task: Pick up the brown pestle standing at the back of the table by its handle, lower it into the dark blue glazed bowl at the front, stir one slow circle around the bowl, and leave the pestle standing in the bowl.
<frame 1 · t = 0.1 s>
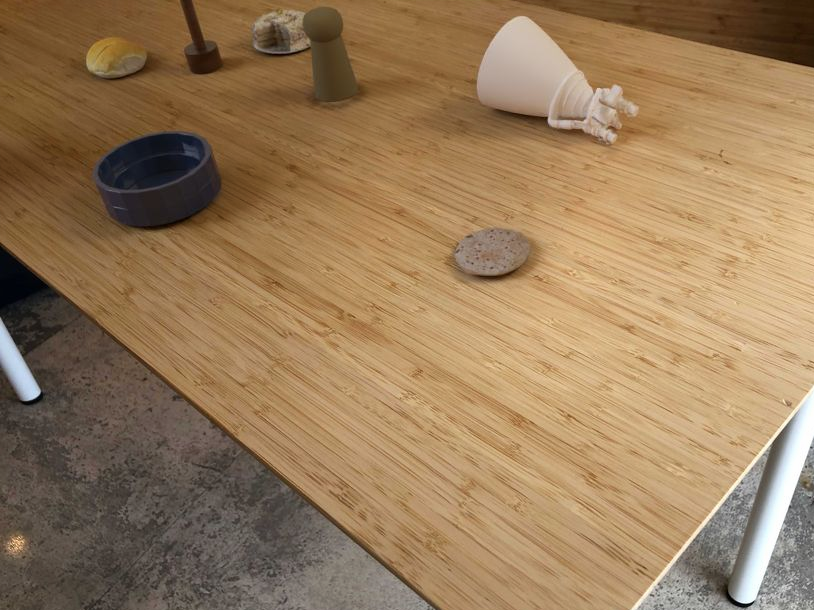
brown pestle: (206, 66, 125), on the table
olive game pawn: (336, 92, 116), on the table
bread roll: (120, 68, 128), on the table
bowl: (166, 197, 100), on the table
flatbread: (492, 257, 86), on the table
cake: (286, 43, 129), on the table
rocket engine: (551, 125, 105), on the table
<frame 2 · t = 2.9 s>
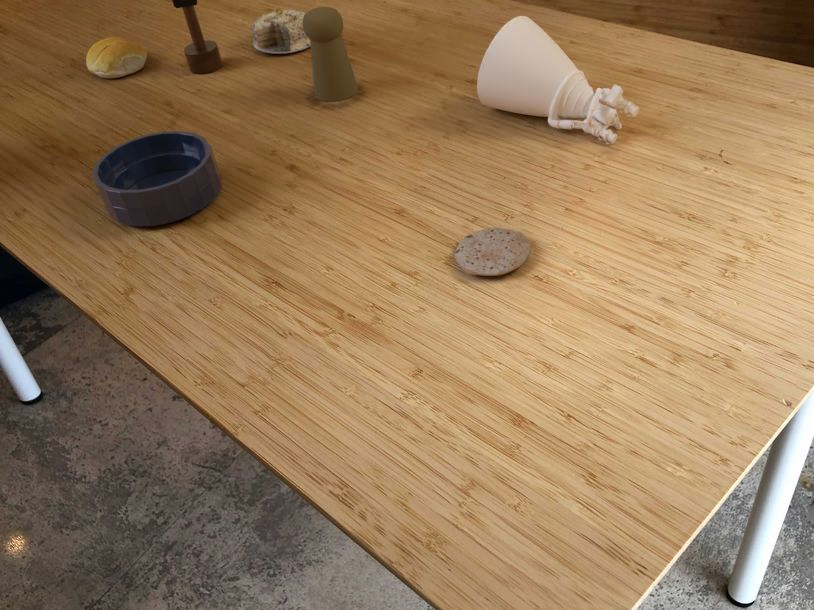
hand: (186, 1, 119), 10 cm above the table, tool pointing down, fingers closed on brown pestle
brown pestle: (206, 66, 125), on the table, touching gripper
everything else where it was.
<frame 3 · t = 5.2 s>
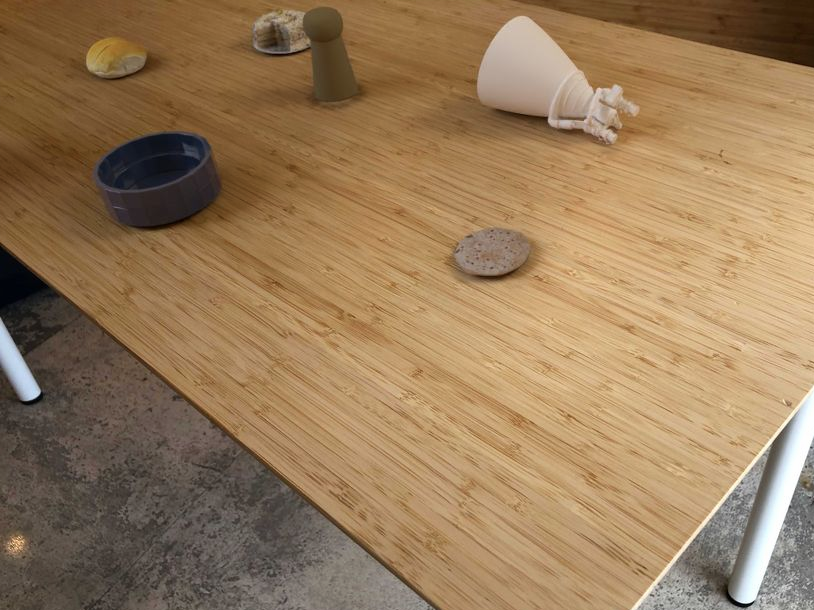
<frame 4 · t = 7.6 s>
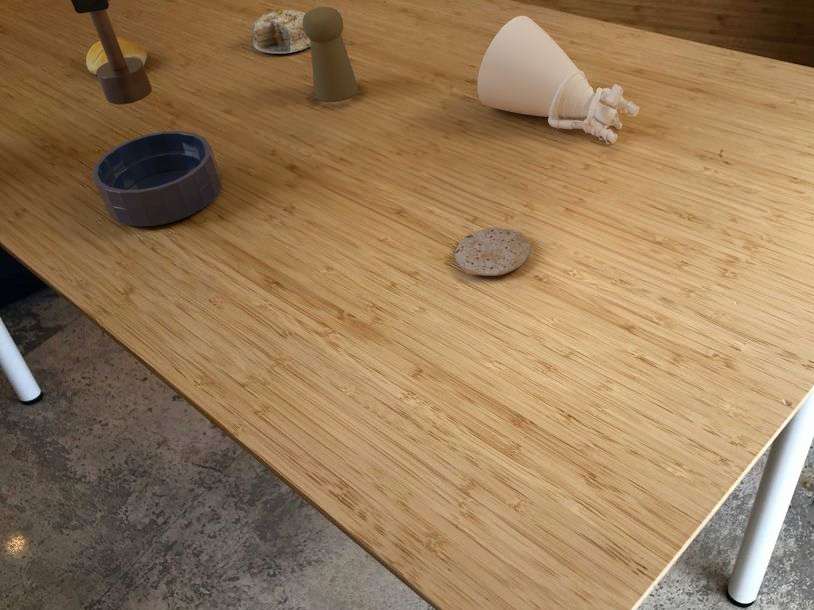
hand: (94, 4, 84), 23 cm above the table, tool pointing down, fingers closed on brown pestle
brown pestle: (129, 94, 91), point 13 cm above the table, touching gripper
everything else where it was.
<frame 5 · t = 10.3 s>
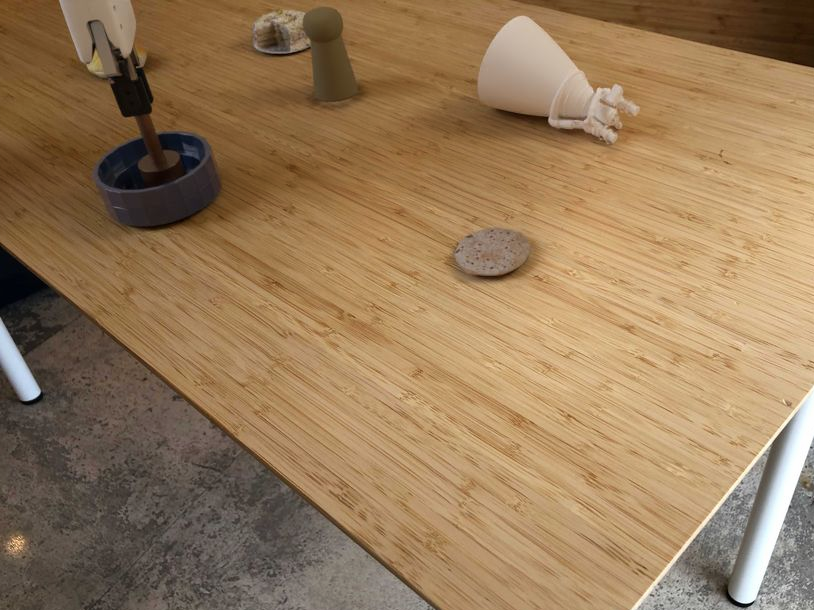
hand: (138, 108, 93), 11 cm above the table, tool pointing down, fingers closed on brown pestle
brown pestle: (167, 182, 100), point 1 cm above the table, touching gripper
everything else where it was.
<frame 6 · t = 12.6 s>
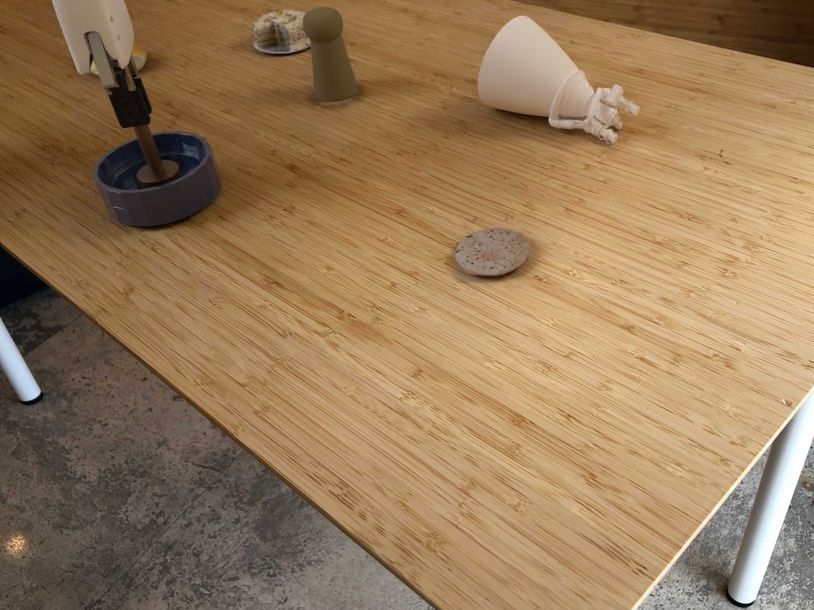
hand: (137, 119, 93), 10 cm above the table, tool pointing down, fingers closed on brown pestle
brown pestle: (166, 193, 99), point 1 cm above the table, touching bowl, gripper
everything else where it was.
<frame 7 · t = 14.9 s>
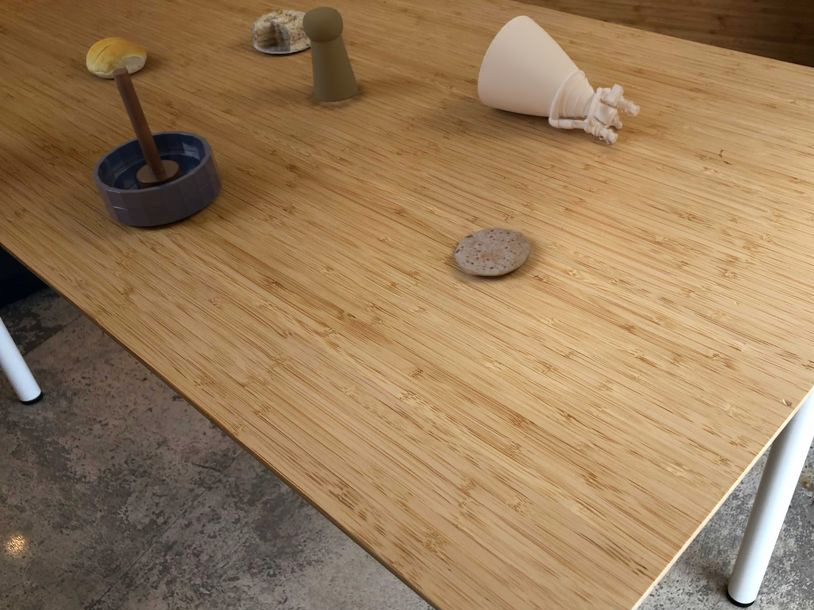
brown pestle: (166, 193, 99), point 1 cm above the table, touching bowl
everything else where it was.
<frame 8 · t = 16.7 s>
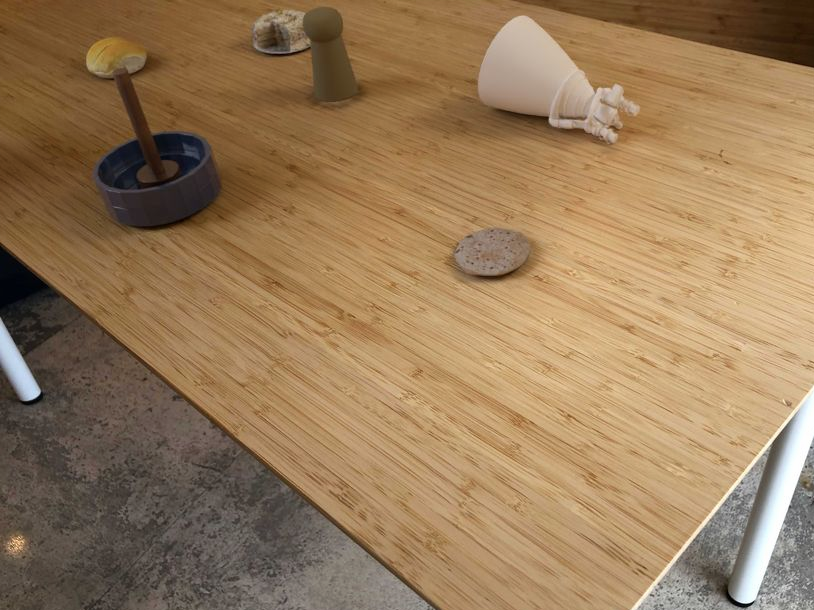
nothing on the table moved.
at the end: brown pestle 0.1 cm off-centre in the bowl, point 0.6 cm above the bowl's base; brown pestle tilted 0°; brown pestle moved 35.2 cm from its start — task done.
